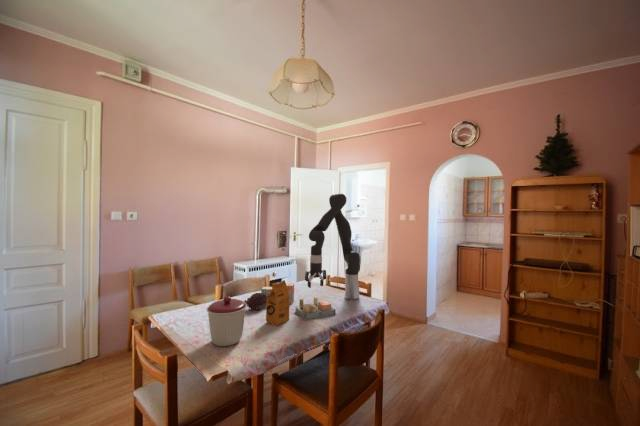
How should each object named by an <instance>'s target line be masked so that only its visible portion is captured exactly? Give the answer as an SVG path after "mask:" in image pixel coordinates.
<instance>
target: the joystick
mask: <svg viewBox="0 0 640 426" xmlns="http://www.w3.org/2000/svg"><path fill="white" fill-rule="evenodd" d="M318 299H319V298H318V296H314V297H313V304H314V305H315V306H317V308H318V309H319V310H321V311H324V310H330V309H331V307H332V303H330V302H329V301H327V300H325V301H319V300H318ZM318 301H319V302H318Z"/></svg>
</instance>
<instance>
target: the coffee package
mask: <svg viewBox="0 0 640 426" xmlns="http://www.w3.org/2000/svg"><path fill="white" fill-rule="evenodd" d="M286 283H287V282H286V280H284V279H283V280H281V282H276V283H275V282H274V283H271V284H270V287H272V289H271V293H270V294H269V296H268V298H267V302H266V304H265V305H266V306H265V308H266V309H265V310H266V311H265V312H266V313H265V321H266V323H267V324H269V325H272V326H279V325H280V324H283V323H286V322H287V321H289V320H290V303H289V291H288V288H287V285H286Z"/></svg>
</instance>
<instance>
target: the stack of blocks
mask: <svg viewBox="0 0 640 426" xmlns="http://www.w3.org/2000/svg"><path fill="white" fill-rule="evenodd" d="M286 285H287V288H288V291H289V303H290V304H291V305H293V303H294V302H295V283H291V282H286ZM271 289H272V286H263V287H262V288H261V292H260V293H263V294H266V296H269V294H270V293H271ZM290 304H289V305H290Z"/></svg>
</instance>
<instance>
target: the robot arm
mask: <svg viewBox="0 0 640 426" xmlns="http://www.w3.org/2000/svg"><path fill="white" fill-rule="evenodd" d="M328 201H329V206H330V208H329V210H328V211H326V213H324V215H322V217H321V218H320V219H319V221H318V223H317V224H316V225H315V226H314V227H313V228H312V229H311V230H310V231H309V234H308V239H309V240H310V241H311V242H315V244H314V245H311V246H310V257H309V259H310V262H309V267H310V268H309V269H310V270H308V271H307V270H306V271H305V273H304V281H306V282H307V287H308V288H309V289H310V288H311V287H312V280H313V279H316V278H319V279H320V281H319V282H320V283H319V286H320V287H323V286H324V281H325V280H326V279H327V270H325V269H323V255H322V253H323V251H322V250H323V246H324V241H325V237H326V236H325V233H324V232H326V231H327V230H328V229H329V227H330V225H331V223H332V222H333V220H334V221H335V224H336V225H335V226H336V229H337V233H338V237H339V239H340V244H341V248H342V256H343V260H344V261H345V263H347V268H346V269H345V270H344V271H345V274H344V275H345V276H344V279H345V280H344V282H345V283H344V286H345V287H344V298H345V299H347V300H357V299H360V284H359V271H360V267H361V257H360V254H359V253H358V252H357V251H354V249H353V247H352V235H353V234H352V233H353V232H352V227H351V224H350V222H349V221H348V219H347V218H346V217H345V216H344V214H343V212H342V209H343V208H344V207H345V206H346V204H347V196H346V195H345V194H344V193H336V194H331V195H330V196H329V200H328Z"/></svg>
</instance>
